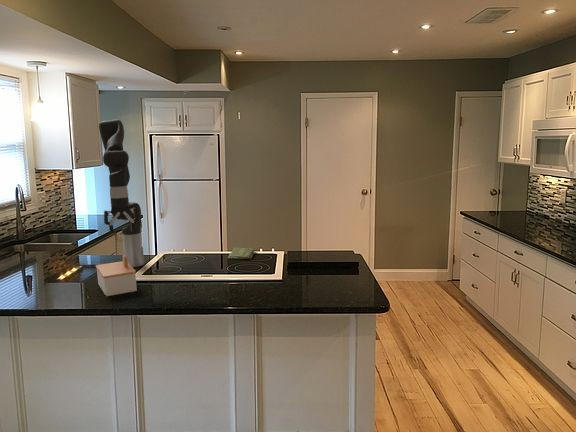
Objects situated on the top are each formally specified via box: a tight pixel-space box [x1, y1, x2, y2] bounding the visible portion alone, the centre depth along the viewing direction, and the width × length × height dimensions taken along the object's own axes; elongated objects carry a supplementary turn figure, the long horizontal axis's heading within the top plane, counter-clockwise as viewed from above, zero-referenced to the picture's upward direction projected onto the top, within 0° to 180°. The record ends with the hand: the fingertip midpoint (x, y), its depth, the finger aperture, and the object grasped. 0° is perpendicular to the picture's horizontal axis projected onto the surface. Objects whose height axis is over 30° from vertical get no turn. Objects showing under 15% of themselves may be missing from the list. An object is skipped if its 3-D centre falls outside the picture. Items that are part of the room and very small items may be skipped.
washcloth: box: [227, 247, 255, 260], centre depth 271 cm, size 13×18×3 cm
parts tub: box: [96, 269, 138, 297], centre depth 221 cm, size 13×20×8 cm, turn 30°
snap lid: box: [95, 254, 137, 279], centre depth 220 cm, size 14×21×7 cm, turn 30°
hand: (122, 232), depth 220 cm, fingers open, 8 cm apart
